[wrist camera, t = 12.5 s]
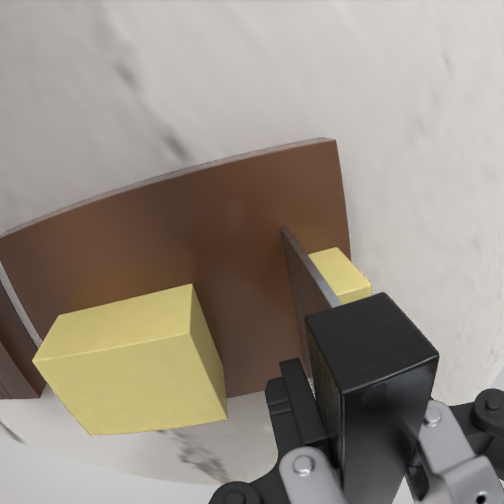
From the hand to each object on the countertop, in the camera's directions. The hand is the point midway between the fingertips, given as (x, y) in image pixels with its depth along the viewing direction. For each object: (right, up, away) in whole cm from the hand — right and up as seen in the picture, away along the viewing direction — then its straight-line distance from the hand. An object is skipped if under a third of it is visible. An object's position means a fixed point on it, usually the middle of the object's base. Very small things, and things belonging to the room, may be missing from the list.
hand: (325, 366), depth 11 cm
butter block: (-8, 0, +4) cm, 9 cm away
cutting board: (-6, +2, +5) cm, 8 cm away
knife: (-1, +2, +4) cm, 4 cm away
